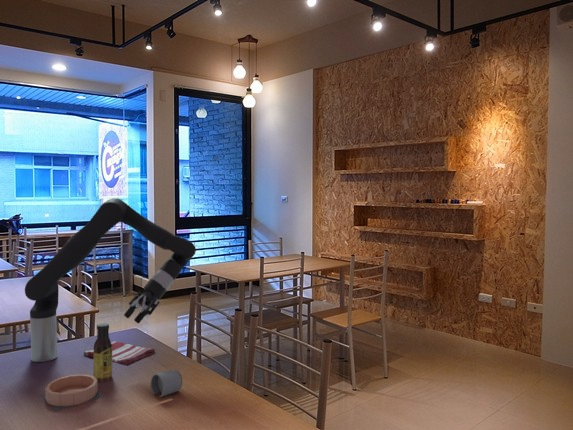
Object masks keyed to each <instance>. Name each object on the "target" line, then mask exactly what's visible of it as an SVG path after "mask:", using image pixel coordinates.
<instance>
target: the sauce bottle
mask: <svg viewBox="0 0 573 430" xmlns="http://www.w3.org/2000/svg"><path fill="white" fill-rule="evenodd" d="M109 329H110V324H109V323H98V324H97V325H96V330H97V336H96V337H97V338H96V340H95V341H94V343H93V349H94V358H93V376H94V377H95V378H96V379H97V381H98V383H104V382H108V381H110V380H111V379H112V378H113V361H112V344H111V342H112V341H111V339H110V336H109Z"/></svg>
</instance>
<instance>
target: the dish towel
mask: <svg viewBox="0 0 573 430" xmlns="http://www.w3.org/2000/svg"><path fill="white" fill-rule="evenodd" d="M111 344H112V363H113V362H115V363H118V364H122V365H124V366H128V365H129V364H131V363H134V362H136V361H139V360H141V359H143V358H145V357H148V356H149V355H153V354H155V352H156V349H154V348H148V347H142V346H137V345H133V344H129V343H125V342H122V341H114V340H113V341H111ZM83 355H84V356H86V357H88V358H90V359H91V358H92V359H94V348H92V349H90V350H85V351H84V352H83Z"/></svg>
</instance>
